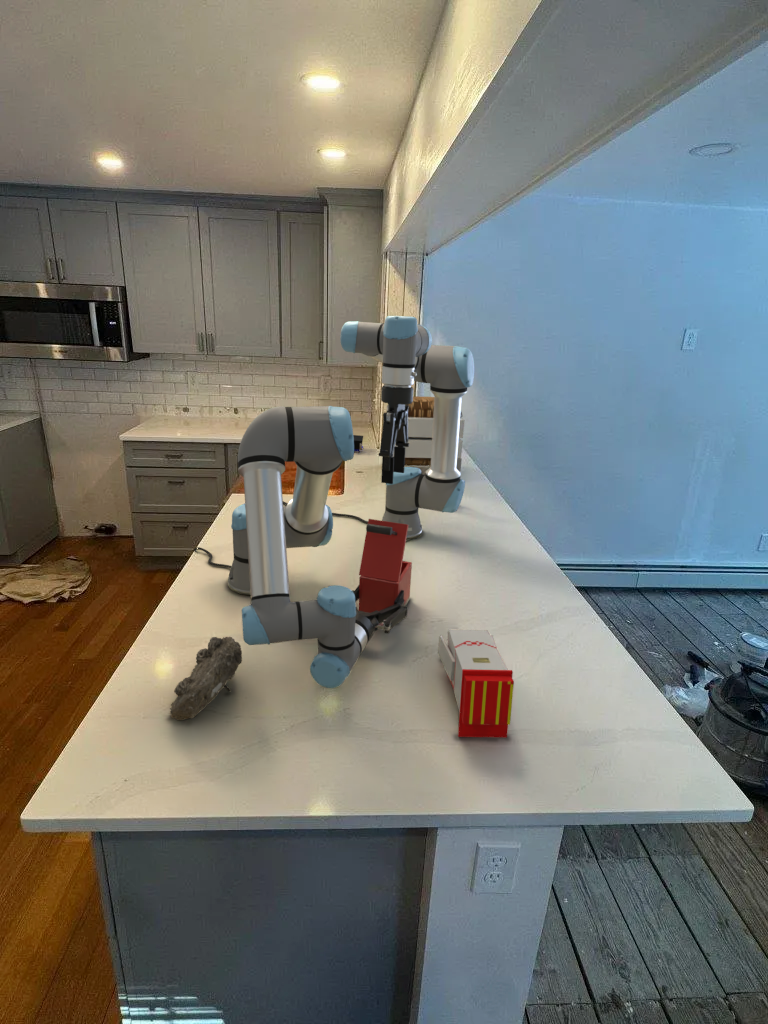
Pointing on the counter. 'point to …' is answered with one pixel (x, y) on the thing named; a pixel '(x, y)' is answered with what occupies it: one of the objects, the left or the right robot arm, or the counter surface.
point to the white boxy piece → (424, 433)
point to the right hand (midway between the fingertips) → (393, 477)
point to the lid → (383, 550)
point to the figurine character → (358, 443)
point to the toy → (478, 682)
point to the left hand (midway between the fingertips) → (381, 591)
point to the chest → (383, 590)
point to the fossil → (207, 677)
